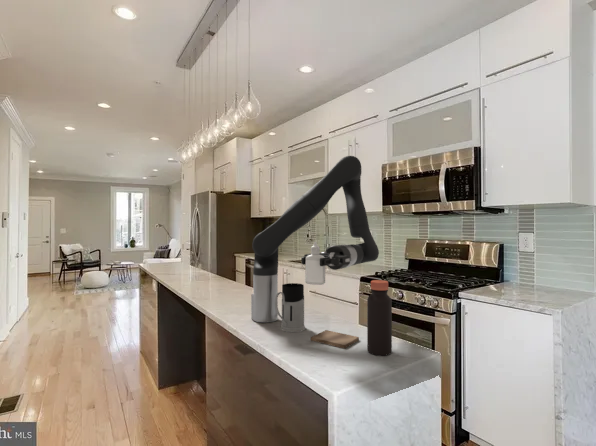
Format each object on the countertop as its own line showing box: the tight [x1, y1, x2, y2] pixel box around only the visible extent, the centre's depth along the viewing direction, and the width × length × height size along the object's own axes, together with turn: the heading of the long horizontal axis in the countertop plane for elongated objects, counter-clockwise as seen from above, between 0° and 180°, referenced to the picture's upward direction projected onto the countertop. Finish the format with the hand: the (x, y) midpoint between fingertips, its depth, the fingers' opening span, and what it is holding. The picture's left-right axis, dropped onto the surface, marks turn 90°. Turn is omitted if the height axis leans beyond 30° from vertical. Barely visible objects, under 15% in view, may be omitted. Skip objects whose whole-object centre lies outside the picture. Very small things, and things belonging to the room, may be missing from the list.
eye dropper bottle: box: [304, 241, 326, 286], centre depth 98 cm, size 4×6×12 cm
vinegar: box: [366, 279, 393, 357], centre depth 97 cm, size 7×7×20 cm
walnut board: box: [310, 329, 360, 349], centre depth 107 cm, size 12×9×1 cm
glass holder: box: [275, 282, 306, 333], centre depth 117 cm, size 9×14×15 cm, turn 147°
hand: (311, 261), depth 97 cm, fingers closed on eye dropper bottle, 5 cm apart
